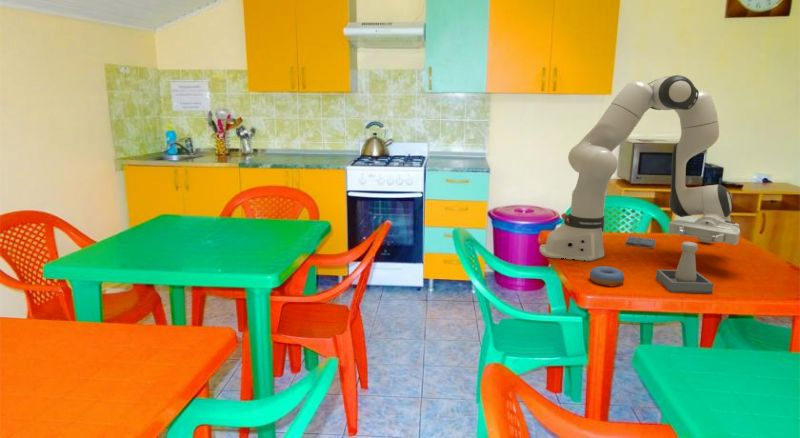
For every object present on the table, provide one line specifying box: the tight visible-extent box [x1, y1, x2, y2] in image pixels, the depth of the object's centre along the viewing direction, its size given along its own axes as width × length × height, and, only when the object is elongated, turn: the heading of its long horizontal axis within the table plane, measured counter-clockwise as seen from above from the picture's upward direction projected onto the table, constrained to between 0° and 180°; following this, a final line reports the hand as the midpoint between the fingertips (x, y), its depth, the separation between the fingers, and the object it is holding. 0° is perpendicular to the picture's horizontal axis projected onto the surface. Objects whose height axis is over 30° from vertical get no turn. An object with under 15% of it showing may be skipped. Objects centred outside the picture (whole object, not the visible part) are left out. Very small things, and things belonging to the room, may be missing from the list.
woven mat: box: [624, 235, 657, 250], centre depth 207 cm, size 10×11×2 cm
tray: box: [655, 269, 714, 295], centre depth 162 cm, size 12×12×3 cm
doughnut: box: [589, 265, 625, 287], centre depth 166 cm, size 10×10×5 cm
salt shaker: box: [675, 241, 699, 282], centre depth 161 cm, size 6×6×13 cm
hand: (697, 236), depth 169 cm, fingers open, 8 cm apart
